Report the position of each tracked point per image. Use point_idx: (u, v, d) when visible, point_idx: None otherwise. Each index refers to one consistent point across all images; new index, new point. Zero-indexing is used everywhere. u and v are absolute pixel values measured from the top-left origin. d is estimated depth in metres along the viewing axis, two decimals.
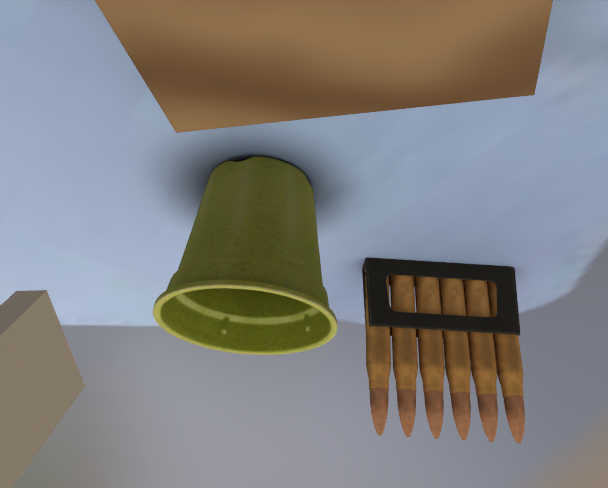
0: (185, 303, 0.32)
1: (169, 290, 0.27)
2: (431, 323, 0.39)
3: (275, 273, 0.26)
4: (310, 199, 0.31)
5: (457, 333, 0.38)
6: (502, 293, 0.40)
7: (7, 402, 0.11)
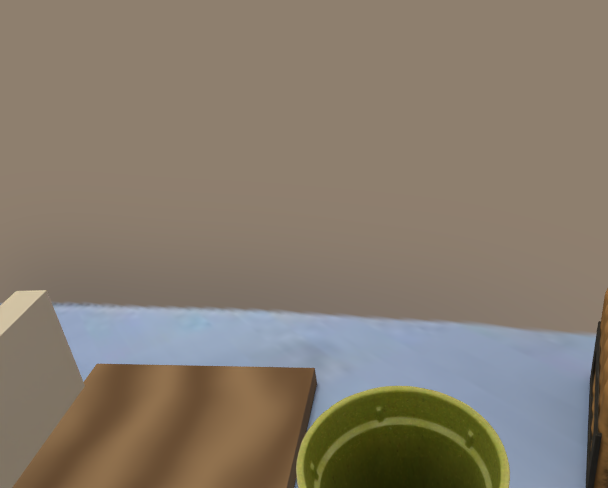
0: None
1: None
2: (595, 386, 0.34)
3: None
4: None
5: (599, 359, 0.35)
6: (593, 363, 0.39)
7: (7, 402, 0.11)
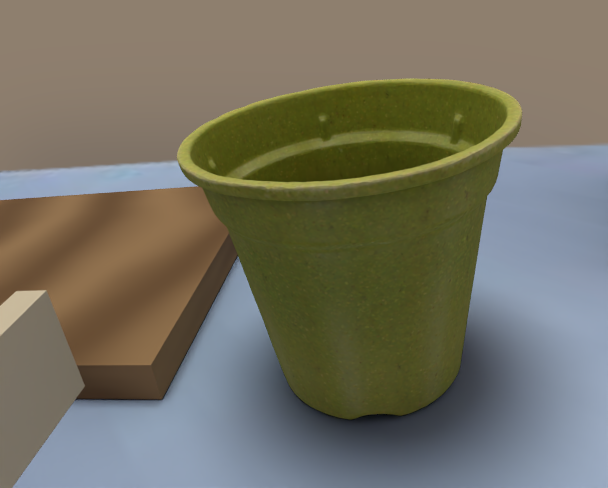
0: (376, 240, 0.13)
1: (183, 173, 0.15)
2: None
3: None
4: None
5: None
6: None
7: (7, 402, 0.11)
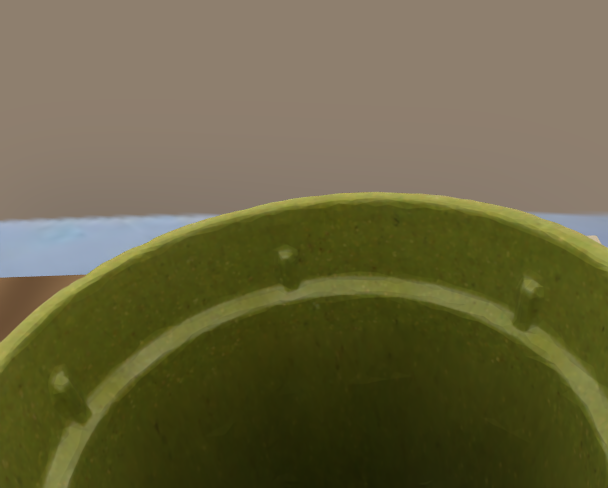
0: None
1: None
2: None
3: None
4: (339, 485, 0.14)
5: None
6: None
7: None
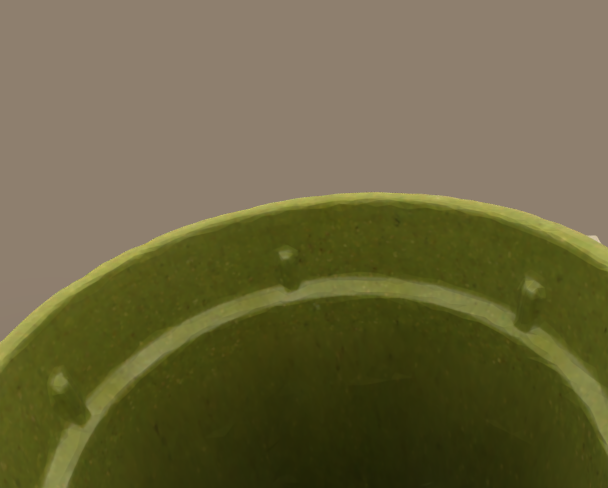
0: None
1: None
2: None
3: None
4: (339, 486, 0.14)
5: None
6: None
7: None
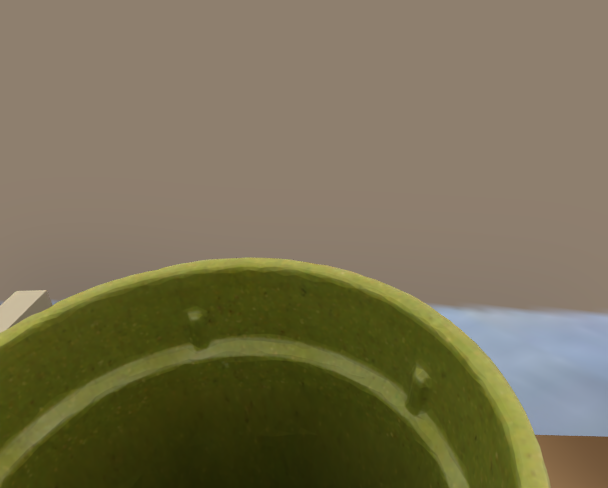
0: None
1: None
2: None
3: None
4: None
5: None
6: None
7: None
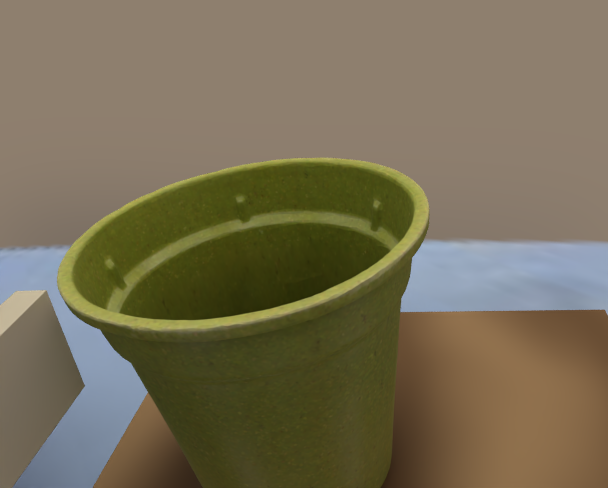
0: (264, 374, 0.12)
1: None
2: None
3: None
4: None
5: None
6: None
7: (7, 402, 0.11)
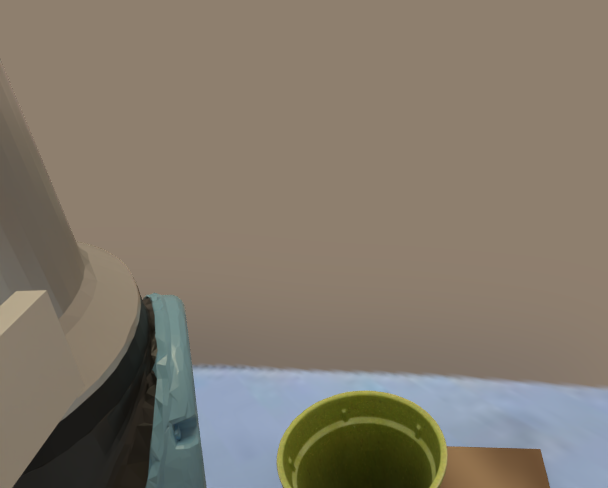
0: None
1: None
2: None
3: None
4: None
5: None
6: None
7: (7, 402, 0.11)
